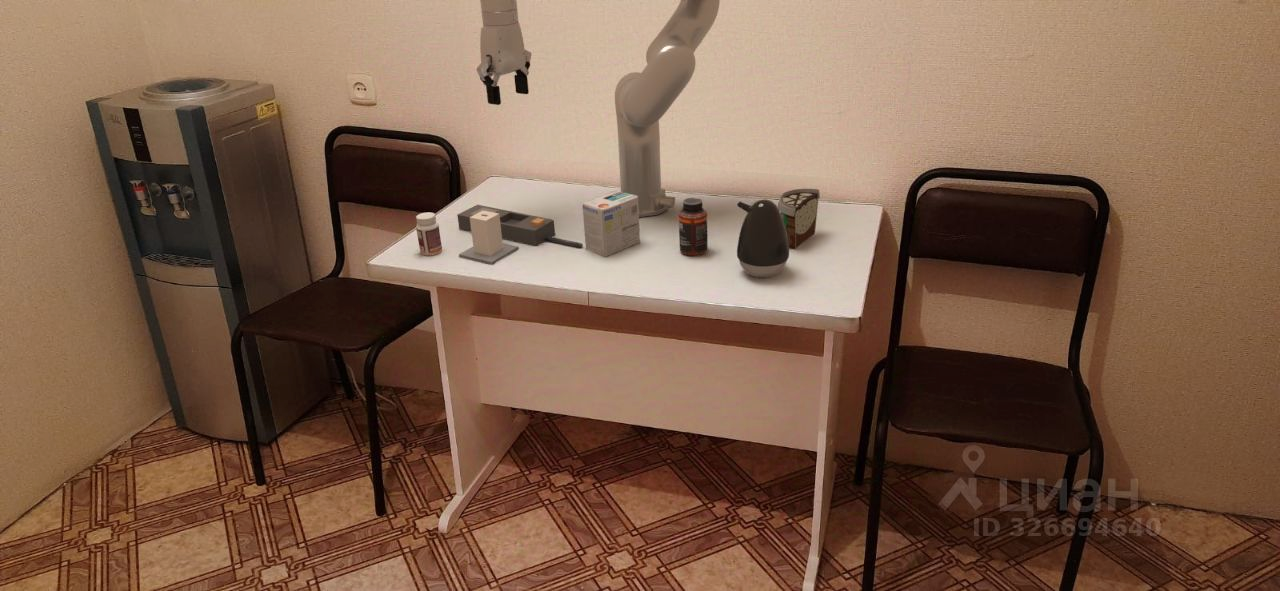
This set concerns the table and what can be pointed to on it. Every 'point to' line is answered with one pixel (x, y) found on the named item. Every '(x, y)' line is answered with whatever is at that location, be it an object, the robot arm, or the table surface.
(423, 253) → the pill bottle
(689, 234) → the supplement bottle
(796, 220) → the food container
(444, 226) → the table surface
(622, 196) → the light bulb box
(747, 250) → the pump dispenser
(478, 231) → the block
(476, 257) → the grey mat
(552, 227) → the power strip
